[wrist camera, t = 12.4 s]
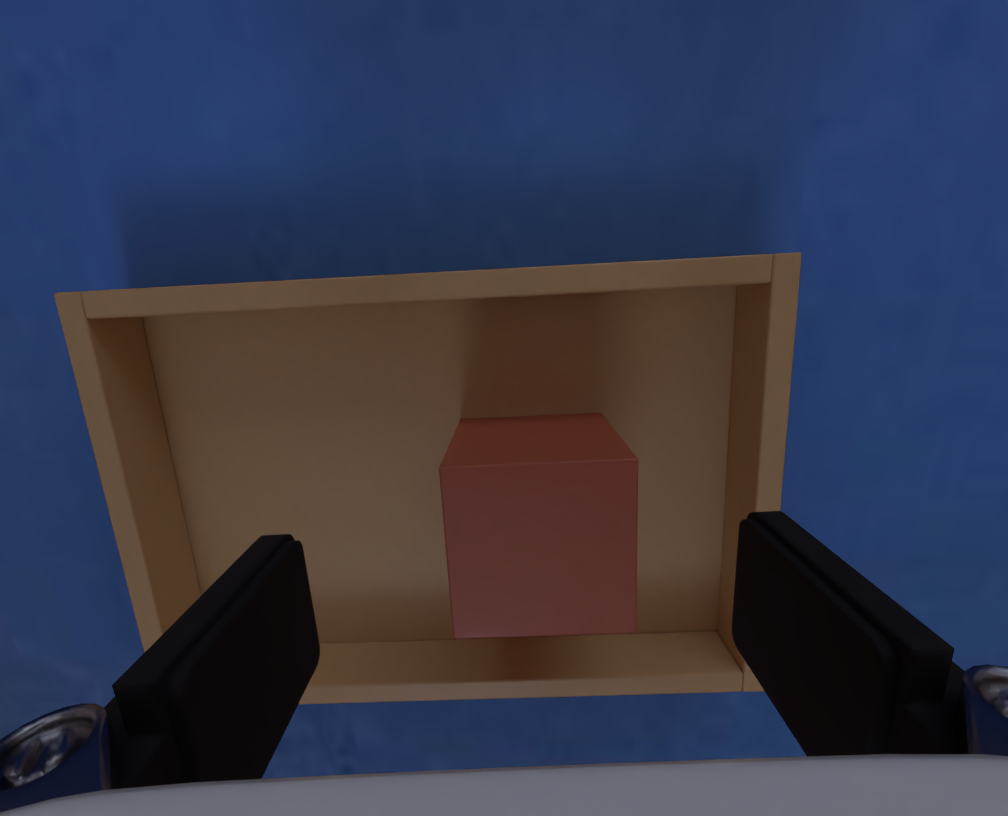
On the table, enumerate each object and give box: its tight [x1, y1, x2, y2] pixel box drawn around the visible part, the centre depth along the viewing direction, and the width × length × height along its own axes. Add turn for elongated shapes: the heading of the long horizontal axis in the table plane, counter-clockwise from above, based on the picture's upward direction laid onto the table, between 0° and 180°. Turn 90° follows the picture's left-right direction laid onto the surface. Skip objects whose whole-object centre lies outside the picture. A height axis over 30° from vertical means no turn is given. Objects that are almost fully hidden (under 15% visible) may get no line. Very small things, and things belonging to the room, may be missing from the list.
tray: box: [54, 252, 801, 704], centre depth 16 cm, size 22×15×3 cm
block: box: [439, 413, 638, 639], centre depth 15 cm, size 5×5×5 cm
